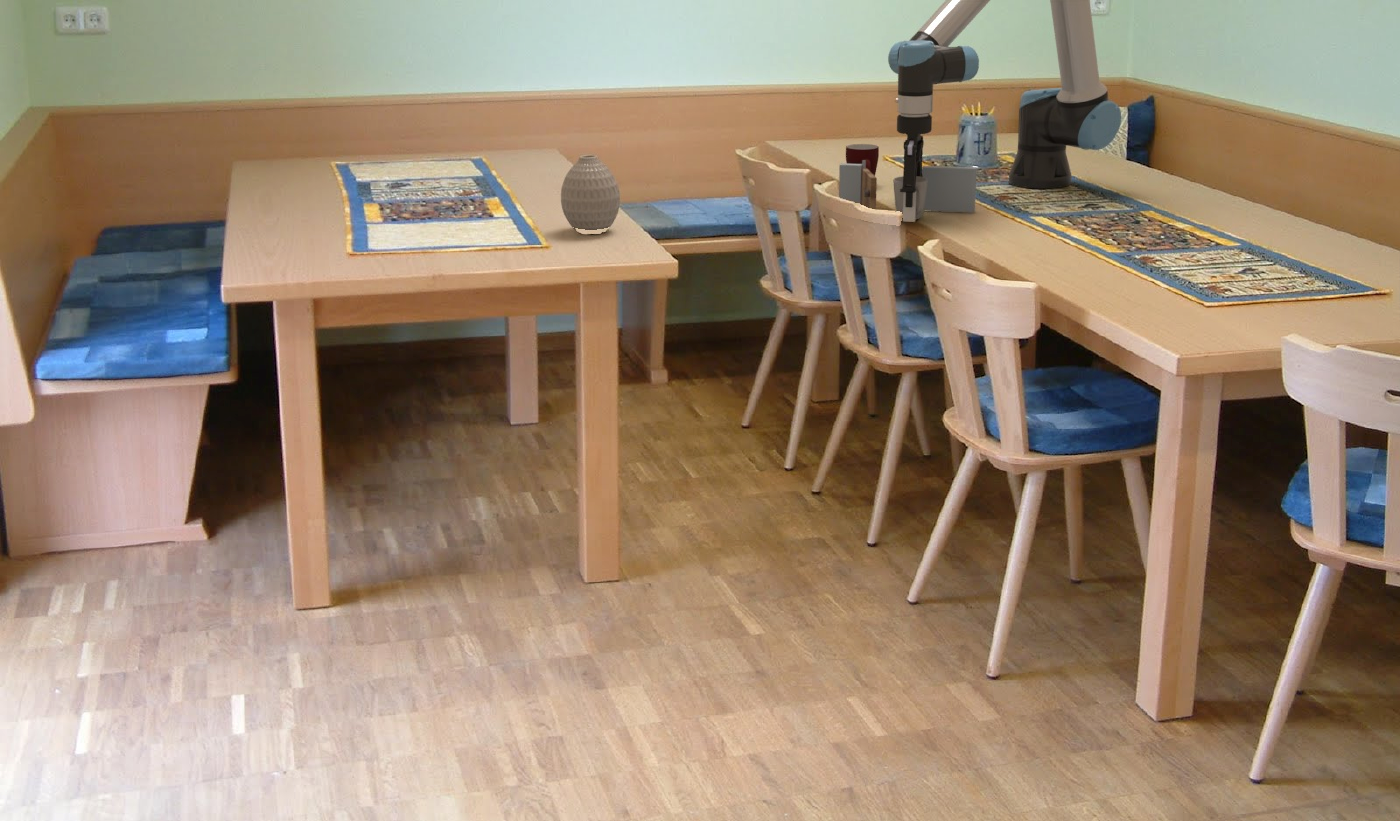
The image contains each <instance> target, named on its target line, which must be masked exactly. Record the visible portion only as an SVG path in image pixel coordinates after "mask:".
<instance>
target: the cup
mask: <svg viewBox="0 0 1400 821" xmlns="http://www.w3.org/2000/svg"><path fill="white" fill-rule="evenodd" d="M892 181H893V195H894V196H893V197H894V204H895V211H900V212H902V214H903V192H900V189H902V187H903V175H902V176H897V177H894V178H893V180H892ZM927 182H928V179H927V178H924V177H919V176H916V187H915V189H916V191H915V192H916V215H915V220H919V219H921V218H922V217H923V215H924V214H923V213H924V211H923V209H924V204H925V197H926V190H927ZM907 186H911V185H907Z"/></svg>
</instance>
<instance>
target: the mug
mask: <svg viewBox="0 0 1400 821" xmlns="http://www.w3.org/2000/svg"><path fill="white" fill-rule="evenodd" d="M879 147H880V146H878V145H877V144H871V143H870V144H869V143H856V144H849V145H846V146H845V161H846V162H845V164H862V160H866V168H867V169H868V170H869V171H870V172H871V173H872V174H873V175H874V176H875V177H876V173H877V167H878V162H879V158H880V157H879V156H880V155H879V154H880V153H879V152H880V151H879V149H880V148H879Z"/></svg>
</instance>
